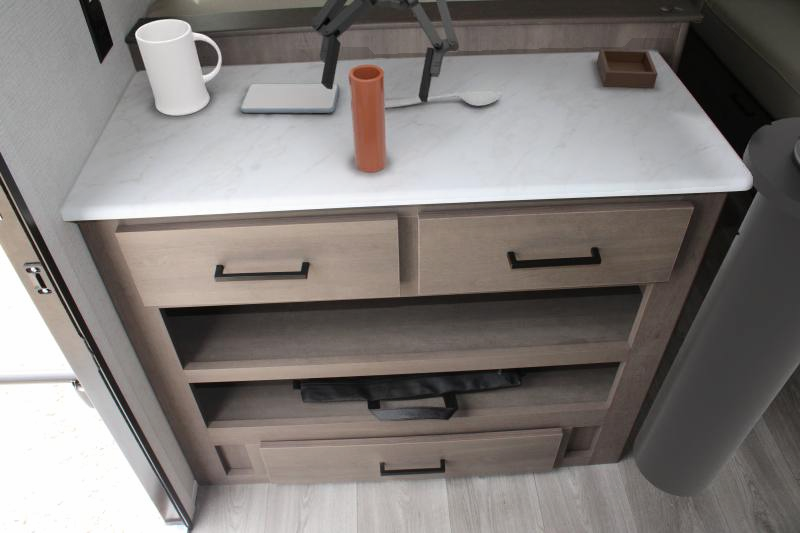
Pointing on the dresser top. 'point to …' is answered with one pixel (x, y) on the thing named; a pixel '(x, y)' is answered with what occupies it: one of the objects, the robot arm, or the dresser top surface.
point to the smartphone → (289, 98)
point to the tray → (626, 68)
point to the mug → (175, 66)
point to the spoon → (469, 97)
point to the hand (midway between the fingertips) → (373, 93)
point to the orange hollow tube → (368, 117)
